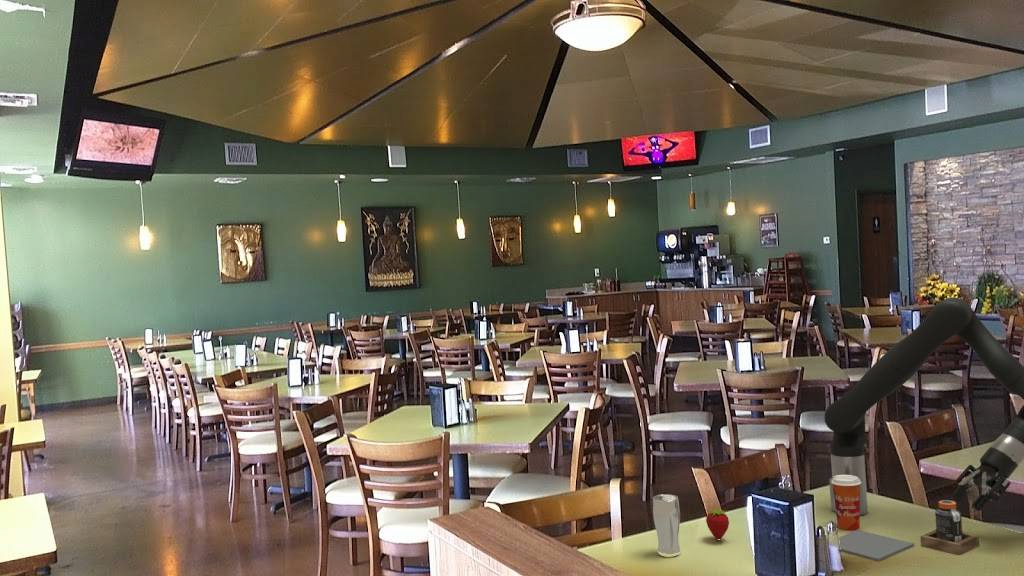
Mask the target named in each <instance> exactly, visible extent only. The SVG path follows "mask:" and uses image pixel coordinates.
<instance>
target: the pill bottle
mask: <svg viewBox="0 0 1024 576" xmlns="http://www.w3.org/2000/svg"><path fill="white" fill-rule="evenodd" d="M934 515H935V517H934V518H935V521H934V522H935V530H936V535H937V538H938V539H943V540H947V541H951V542H956V543H957V542H959V541H961V540H963V536H962V532H963V523H962V522H963V521H962V513H961V511H959V510H958V509H957V502H956V501H955V500H950V499H949V500H948V499H946V500H945V499H943V500H939V501H938V508H937V509H936V510H935V512H934Z"/></svg>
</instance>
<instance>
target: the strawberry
mask: <svg viewBox="0 0 1024 576" xmlns="http://www.w3.org/2000/svg"><path fill="white" fill-rule="evenodd" d="M719 507H720V503H719V504H718V506H717V507H716V509H713V508H712V509H711V510H709V511H708V514H707V515H706V519H705V522H706V525H707V528H708V530H709V532H710V533H711V534H712V535H713V537H714V538H715V540H716V539H721V540H722V539H723V537H724V536H725V534H726V532H727V530H728V529H729V526H730V520H729V517H728V516H727V514H726V513H727V512H729V510H720V509H718V508H719Z"/></svg>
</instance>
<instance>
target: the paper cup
mask: <svg viewBox="0 0 1024 576" xmlns="http://www.w3.org/2000/svg"><path fill="white" fill-rule="evenodd" d="M831 483H833V491H834V499H835V507H836V512H835V513H836V522H837V527H838V528H839V529H840V530H842V529H844V530H843V531H856V530H857V529H858V530H859V529H860V525H861V523H860V522H861V519H860V518H861V515H860V484H861V481H860V479H858V477H856V476H853V475H836V476H834V477H833V479H832V481H831Z"/></svg>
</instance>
